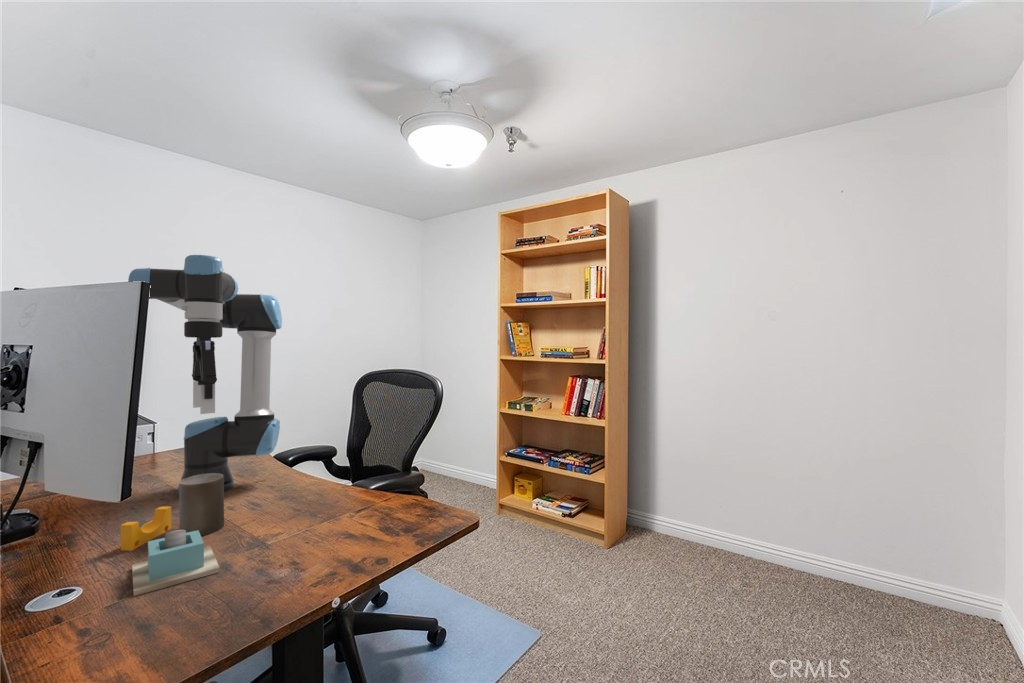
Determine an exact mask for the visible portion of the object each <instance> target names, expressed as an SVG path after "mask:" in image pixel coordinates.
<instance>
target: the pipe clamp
mask: <svg viewBox="0 0 1024 683" xmlns="http://www.w3.org/2000/svg"><path fill="white" fill-rule="evenodd" d="M170 529H172V506H159V507H157V508H155V512H154V515H153V519H152V520H150V521H148V522H145V523H144V524H142V525H141V527H140V522H139V521H127V522H124V523H122V524H121V525H120V551H127V552H128V551H129V552H131V551H133V550H135V549H137V548H139V547H140V546H143V545H144V544H146V543H148V541H152V540H153V539H155V538H157V537H158V536H160V535H162V534H163V533H166V531H169V530H170Z"/></svg>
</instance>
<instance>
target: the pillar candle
mask: <svg viewBox="0 0 1024 683" xmlns="http://www.w3.org/2000/svg"><path fill="white" fill-rule="evenodd" d="M180 480H181V479H180ZM180 480H179V482H178V486H179V496H178V498H179V499H178V502H179V504H178V505H179V507H178V509H179V511H178V514H179V516H178V519H179V522H178V524H179V526H178V527H179V529H178V530H186V533H188V532H192V531H197V530H199V533H200V535H201V537H205V536H208V535H211V534H213V533H214V534H215V533H216V532H218V531H219V530H222V529H223V528H224V527H225V526H224V525H225V496H224V495H225V492H224V475H223V474H219V473H209V474H201V475H196V476H191V477H188V478H185V479H182V480H181V481H180Z"/></svg>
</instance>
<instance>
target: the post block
mask: <svg viewBox="0 0 1024 683" xmlns="http://www.w3.org/2000/svg"><path fill="white" fill-rule="evenodd" d="M164 538H165V549H169V548H173V547H177V546H182V545H186V530H179V529H175V530H172V531H169V532H167V533H165V535H164ZM131 566H132V570H131V571H132V591H133V592H132V593H133V597H137V596H140V595H144V594H146V593H151V592H154V591H158V590H161V589H164V588H169V587H171V586H176V585H178V584H183V583H186V582H189V581H192V580H196V579H200V578H203V577H207V576H210V575H211V576H212V575H214V574H218V573H220V569H221V567H220V565H219V563H218V561H217V559H216V556H215V553H214V551H213V549H212V547H211V544H210V545H206V546H205V545H204V567H201V568H197V569H193V570H190V571H186V572H182V573H179V574H175V575H171V576H167V577H164V578H160V579H156V580H153V581H150V580H149V571H148V560H145V561H140V562H136V563H132V565H131Z"/></svg>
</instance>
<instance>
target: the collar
mask: <svg viewBox="0 0 1024 683" xmlns="http://www.w3.org/2000/svg"><path fill="white" fill-rule="evenodd" d="M202 537H203V536H201V535H200V533H199V530H197V531H192V532H188V533H186V545H182V546H177V547H173V548H169V549H165V537H162V538H161V537H160V538H156V539H154V540H153V539H151V540H150V541H148V542H147V561H148V571H149V580H150V581H153V580H156V579H160V578H164V577H167V576H171V575H175V574H179V573H182V572H186V571H190V570H193V569H197V568H201V567H204V547H205V544H204V543H205V542H204V540H203V538H202Z"/></svg>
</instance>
